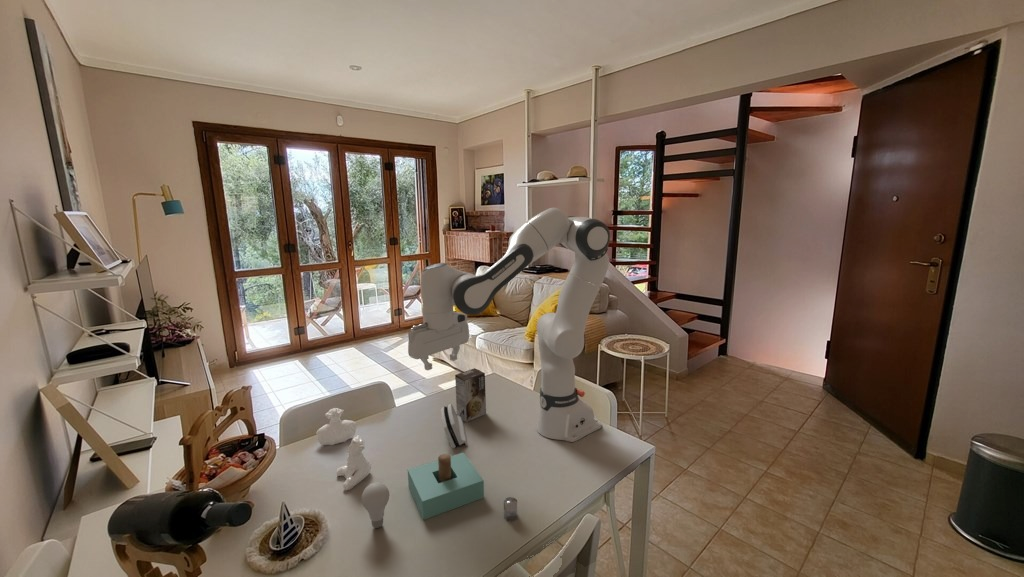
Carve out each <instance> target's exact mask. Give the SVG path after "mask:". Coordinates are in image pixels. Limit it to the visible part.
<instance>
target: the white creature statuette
mask: <svg viewBox="0 0 1024 577" xmlns="http://www.w3.org/2000/svg"><path fill="white" fill-rule="evenodd" d="M365 447H366V446H365V440H364V439H363V438H362V437H361V436H360V435H359V434H358V435H356V436H353V437H352V438H351V442H350V444H349V445H348V448H347V453H348V454H347V455H348V456H347V459H346V461H347V465H342V466H340V467H338V468H337V469H336V477H339V476H340V477H344V478H345V481H344V482H343V484H342V488H343V490H344V491H345V492H347V491H349V490H352V489H353V488H354V487H355V486H356V485H358V484H359V483H360V482H362V481H363V480H364V479H366V478H367V477H368V476H369V475H370V472H371V470H372V464H371V462H370V460H369V459H367V458H366V456H365V454H364V452H363V450H365Z"/></svg>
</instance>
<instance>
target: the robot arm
mask: <svg viewBox="0 0 1024 577" xmlns="http://www.w3.org/2000/svg"><path fill="white" fill-rule="evenodd" d="M610 240H611V233H610V229H609V227H608V226H607V225H606V223H604V222H603V221H601V220H599V219H597V218H591V217H587V216H573V215H572V216H571V215H570V216H567V214H566V213H565V212H564V211H563V210H562V209H560V208H558V207H550V208H547V209H545V210H542V212H539V213H538V214H536V215H534V216H532V217H531V218H529V219H528V220H527V221H525V222H524V223H523V224H521V225H520V226H519V227H518V228H517V229H516V230H515V231H514V232H513V233H512V234H511V235H510V236H509V239H508V243H507V246H508V247H507V250H506V253H505V254H504V255H503V256H502V257H501V258H499V260H498V261H496V262H495V263H494V264H492V266H490V267H488V269H487V270H485V271H484V272H483V273H482V274H479V275H475V274H474V273H471V272H467V271H463V270H459V269H457V268H455V267H453V266H451V265H450V264H448V262H447V263H446V262H440V263H439V262H438V263H433V264H430V265H428V266H427V265H426V267H425V268H424V269H423V270H422V271H421V274H420V295H421V299H422V309H421V311H422V322H423V323H419V324H418V325H413V326H412V327H411V328H410V329H409V331H408V334H407V335H408V336H407V337H408V343H407V345H408V346H407V347H408V348H407V350H408V351H407V354H408V356H409V357H410V359H411V358H412V359H413V360H420V361H421V362H422V363H423V366H424V370H425V371H430V370H432V369H433V363H432V362H429V359H430V358H429V357H430V356H432V355H435V354H437V353H440V352H444V351H447V350H449V349H452V352H451V353H450V354H449V360H450V361H452V362H454V361H456V360H458V354H459V351H460V350H461V349H460V348H461V347H460V346H461V345H464V344H467V343H468V342H469V340H470V328H469V324H468V322H467V320H468V315H469V316H475V315H479V314H481V313H483V312H484V311H486V309H487V308H488V307H489V306H490V305H491V303H492V301H493V299H494V298H495V295H497V293H498V292H499V291H500V290H501V289H502V288H504V287H505V286H506V285H507V284H509V283H510V282H511V281H512V280H513V279H514V278H515V277H516V276H518V274H520V273H521V272H523V270H524V269H526V268H528V266H530V265H531V264H532V263H534V262H536V261H537V260H538V259H540V258H541V257H543V256H544V255H546V253H548V252H549V251H551V250H552V249H553V248H554V247H555V246H557V245H560V246H561V247H563V248H564V249H567V250H569V251H572V252H574V256H575V258H574V262H573V265H572V266H571V268H570V270H569V272H568V275H567V277H566V278H565V280H564V283H563V285H562V286H561V289H560V291H559V294H558V302H557V306H556V311H555V312H546V313H544V314H542V315H541V316H540V317H539V318H538V320H537V322H536V330H537V340H538V341H537V342H538V348H539V349H538V350H539V351H538V352H539V357H540V366H541V368H540V369H541V383H540V384H541V387H540V389H539V405H540V406H539V407H540V409H539V413H538V414H539V415H538V419H537V423H536V431H537V432H538V433H539V434H540V435H541V436H543V437H545V438H547V439H552V440H559V441H561V440H562V441H566V442H569V443H570V442H571V443H574V442H576V441H578V440H581V439H582V438H584V437H586V436H588V435H590V434H592V433H593V432H595V431H597V430H599V429H602V424H601V421H600V420H599V419H598V418H597V417H596V416H595V413H594V410H593V407H592V406H591V405H590V404H588V403H587V402H586V401H584V400H582V399H581V398H584V397H585V394H586V392H585V391H583V390H582V389H578V388H576V386H575V384H576V383H575V382H576V381H575V379H576V377H575V376H576V367H575V364H574V363H575V362H574V359H575V358H577V357H578V356H579V355H580V354H581V353H582V351H583V350H584V347H585V331H586V327H587V322H588V319H589V315H590V311H591V309H592V307H593V304H594V302H595V300H596V297H597V296H598V294H599V292H600V289H601V287H602V285H603V283H604V281H605V278H606V275H607V272H608V268H609V265H610V257H609V255H608V254H607V253H608V250H609V249H608V248H609V245H610V242H611V241H610ZM454 307H456V308H457V309H458V310H459V311H460V312H459V311H455V310H454Z"/></svg>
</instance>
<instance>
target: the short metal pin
mask: <svg viewBox="0 0 1024 577" xmlns="http://www.w3.org/2000/svg"><path fill="white" fill-rule="evenodd" d="M503 518H504V520H505V521H507V522H513V521H516V520H517V518H518V500H517V499H516V498H515V497H514V496H509V497H505V499H504V500H503Z"/></svg>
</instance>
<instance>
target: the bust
mask: <svg viewBox="0 0 1024 577" xmlns="http://www.w3.org/2000/svg"><path fill="white" fill-rule="evenodd" d="M344 412H345V410H344V409H341V408H338V407H333V408H330V409H329V410H328V411H327V412H326V413H324V416H325V417H326V418H327V420H329V419H330V420H329V421H328V422H329V423H326V424H324V425H323V426H321V427H320V428H318V429H317V431H316V433H315V435H316V438H317V440H318V443H319V444H320V445H321V446H335V445H337V444H341V443H345V442H347V441H348V440H350V439H353V437H355V434H356V430H357V423H356V422H355V421H354V420H349V419H344V420H342V419H341V417H342V415H344Z"/></svg>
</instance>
